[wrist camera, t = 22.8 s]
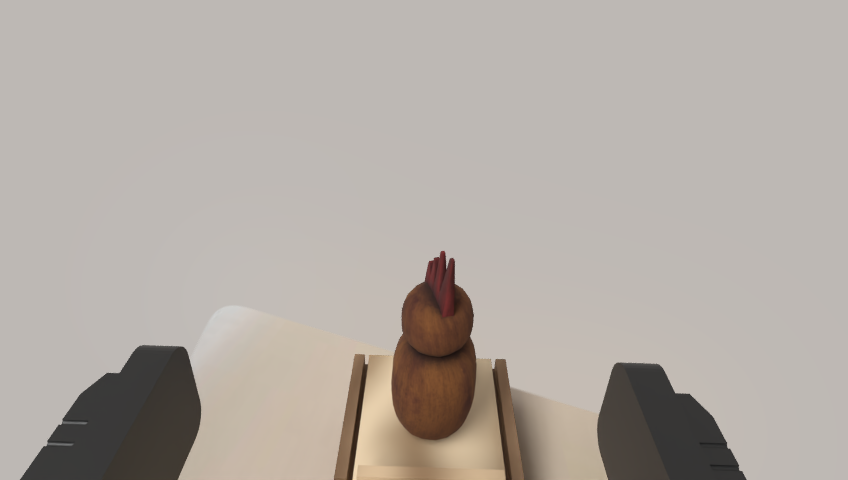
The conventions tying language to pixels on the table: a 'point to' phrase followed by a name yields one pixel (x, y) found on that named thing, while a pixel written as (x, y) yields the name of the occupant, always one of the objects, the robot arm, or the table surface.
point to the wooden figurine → (435, 356)
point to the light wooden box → (355, 410)
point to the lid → (421, 458)
